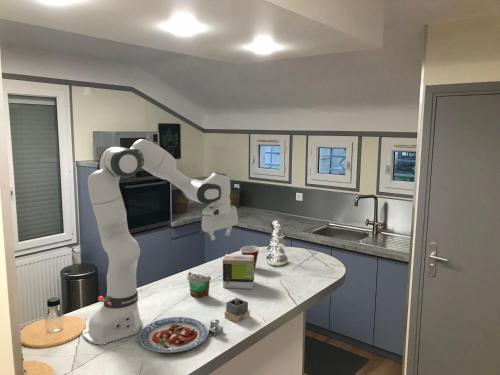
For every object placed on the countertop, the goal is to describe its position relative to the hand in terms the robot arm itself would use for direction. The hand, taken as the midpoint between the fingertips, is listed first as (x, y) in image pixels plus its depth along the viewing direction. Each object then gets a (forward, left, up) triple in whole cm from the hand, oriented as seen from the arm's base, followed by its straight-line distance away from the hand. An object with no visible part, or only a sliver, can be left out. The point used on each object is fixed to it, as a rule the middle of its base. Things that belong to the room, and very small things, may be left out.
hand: (220, 237), depth 186 cm
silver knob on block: (-24, -21, -29) cm, 43 cm away
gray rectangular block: (-21, -17, -29) cm, 40 cm away
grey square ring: (-9, -18, -27) cm, 33 cm away
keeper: (-9, -18, -29) cm, 35 cm away
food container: (-6, +10, -29) cm, 32 cm away
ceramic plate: (-37, -12, -30) cm, 49 cm away
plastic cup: (+38, +15, -29) cm, 50 cm away
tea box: (+17, +4, -29) cm, 34 cm away
